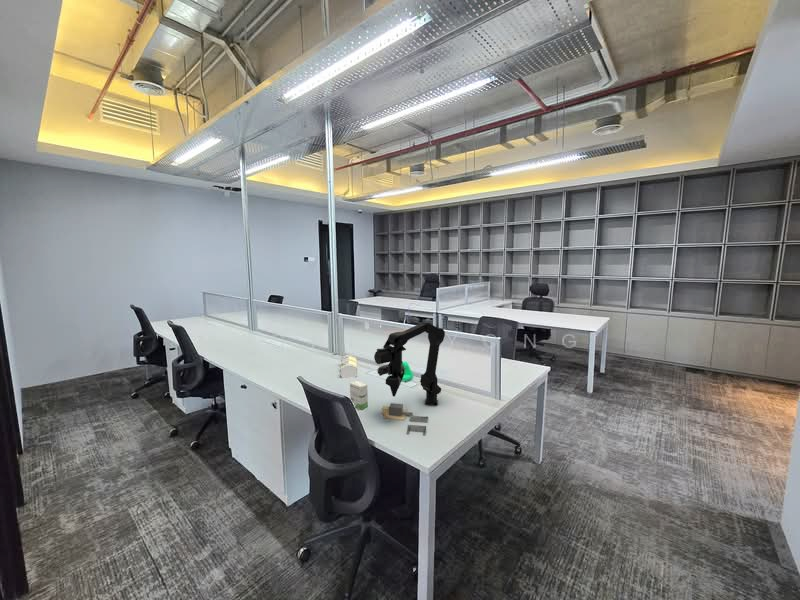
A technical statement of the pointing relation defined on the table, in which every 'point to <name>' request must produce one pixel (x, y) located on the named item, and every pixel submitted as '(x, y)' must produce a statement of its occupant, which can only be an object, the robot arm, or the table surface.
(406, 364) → the camera mount
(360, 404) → the ink box
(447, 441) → the table surface
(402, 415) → the pad
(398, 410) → the plug
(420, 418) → the pair of grey brackets
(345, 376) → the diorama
